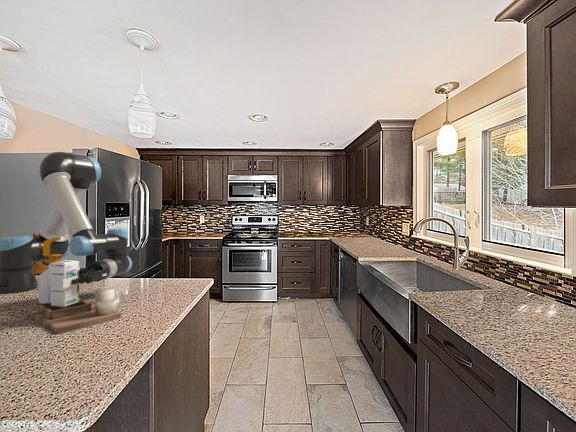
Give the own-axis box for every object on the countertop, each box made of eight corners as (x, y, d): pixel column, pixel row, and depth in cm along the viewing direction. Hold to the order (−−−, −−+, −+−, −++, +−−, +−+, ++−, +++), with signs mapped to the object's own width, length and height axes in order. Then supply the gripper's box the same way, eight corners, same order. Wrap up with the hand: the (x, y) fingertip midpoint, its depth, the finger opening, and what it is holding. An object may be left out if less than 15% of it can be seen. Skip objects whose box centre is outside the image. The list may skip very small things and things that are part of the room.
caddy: (29, 315, 108) (29, 287, 107) (87, 303, 122) (87, 278, 122) (58, 334, 93) (58, 301, 93) (120, 317, 108) (121, 289, 107)
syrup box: (64, 307, 104) (65, 263, 104) (49, 305, 105) (50, 261, 105) (79, 302, 110) (80, 260, 110) (65, 300, 111) (65, 259, 111)
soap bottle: (72, 299, 126) (73, 237, 126) (47, 305, 118) (48, 239, 117) (59, 296, 130) (59, 236, 129) (33, 302, 122) (34, 237, 121)
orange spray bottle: (61, 273, 172) (62, 232, 171) (32, 276, 164) (32, 233, 163) (60, 270, 179) (60, 231, 179) (31, 272, 171) (32, 231, 171)
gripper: (124, 280, 124) (80, 297, 101) (78, 278, 126) (25, 294, 103) (124, 261, 124) (80, 273, 101) (78, 259, 126) (25, 270, 103)
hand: (52, 283), depth 102 cm, fingers closed on syrup box, 6 cm apart
